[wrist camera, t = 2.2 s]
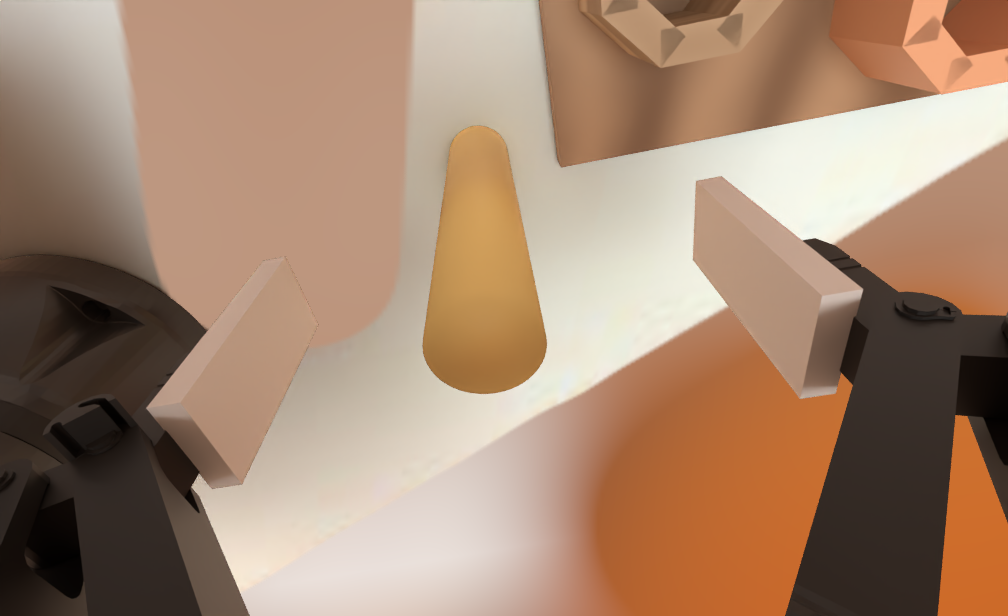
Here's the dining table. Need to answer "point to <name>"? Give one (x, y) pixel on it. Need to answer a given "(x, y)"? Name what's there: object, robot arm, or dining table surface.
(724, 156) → the dining table surface
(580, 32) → the lacing board
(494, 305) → the dowel
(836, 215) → the dining table surface
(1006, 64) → the bead rust
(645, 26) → the bead beech
